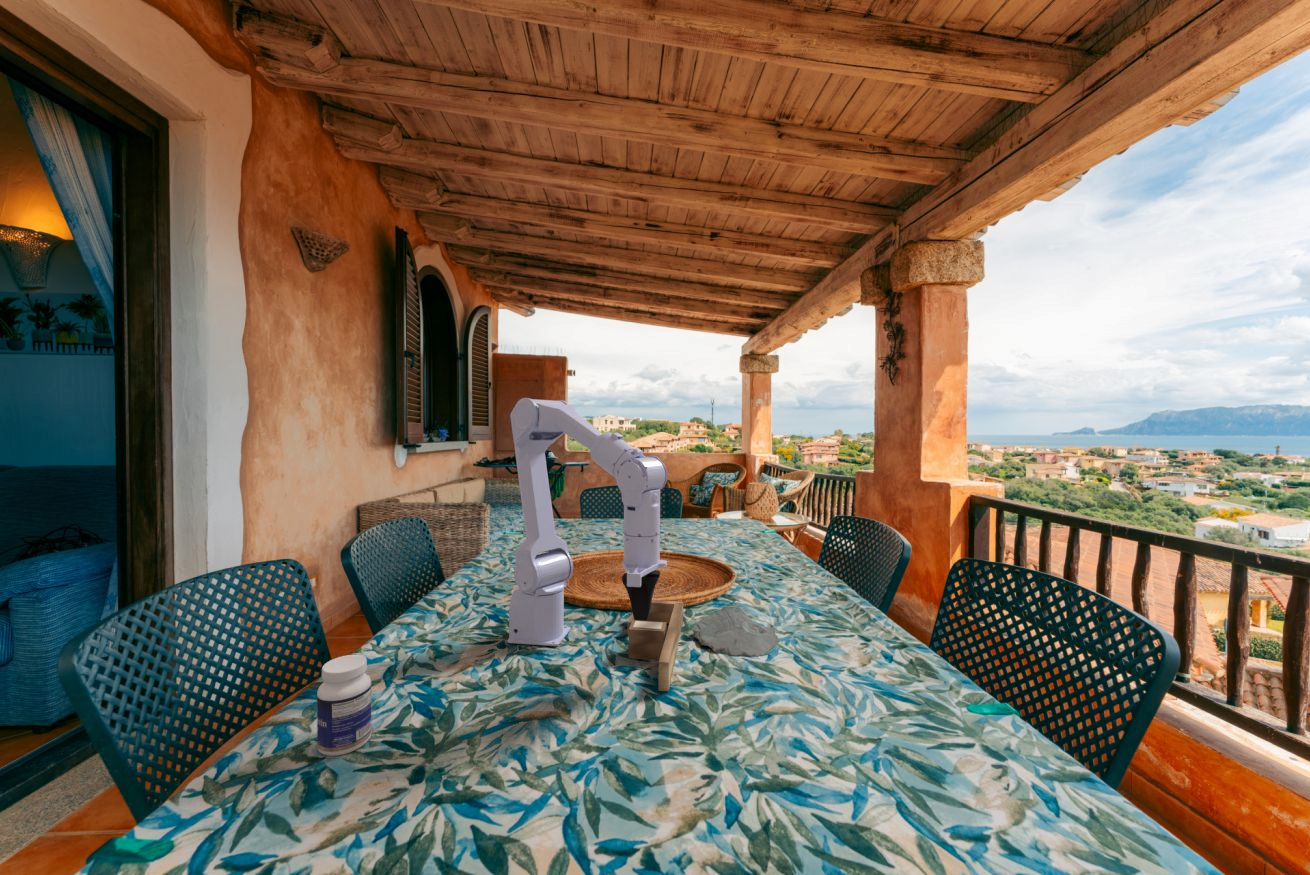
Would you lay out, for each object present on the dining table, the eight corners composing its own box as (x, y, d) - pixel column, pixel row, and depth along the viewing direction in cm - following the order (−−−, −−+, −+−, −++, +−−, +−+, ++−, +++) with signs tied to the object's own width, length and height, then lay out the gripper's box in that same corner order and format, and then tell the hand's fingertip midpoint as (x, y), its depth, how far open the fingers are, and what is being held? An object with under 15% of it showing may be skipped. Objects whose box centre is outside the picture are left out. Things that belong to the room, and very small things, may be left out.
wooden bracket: (603, 686, 76) (604, 658, 76) (635, 618, 104) (635, 597, 104) (668, 691, 75) (668, 662, 75) (683, 621, 102) (683, 600, 102)
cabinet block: (628, 658, 86) (628, 628, 86) (632, 648, 90) (632, 619, 90) (663, 660, 85) (663, 630, 85) (666, 650, 89) (666, 621, 89)
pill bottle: (315, 739, 63) (315, 659, 63) (368, 724, 66) (368, 648, 66) (318, 764, 58) (318, 678, 58) (374, 746, 62) (374, 665, 61)
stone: (693, 640, 87) (694, 597, 102) (691, 662, 88) (692, 616, 103) (785, 651, 86) (773, 605, 100) (782, 673, 87) (770, 625, 101)
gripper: (661, 544, 73) (660, 638, 73) (671, 525, 87) (671, 604, 87) (613, 542, 73) (612, 635, 74) (631, 524, 88) (630, 602, 88)
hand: (641, 618), depth 80 cm, fingers closed
